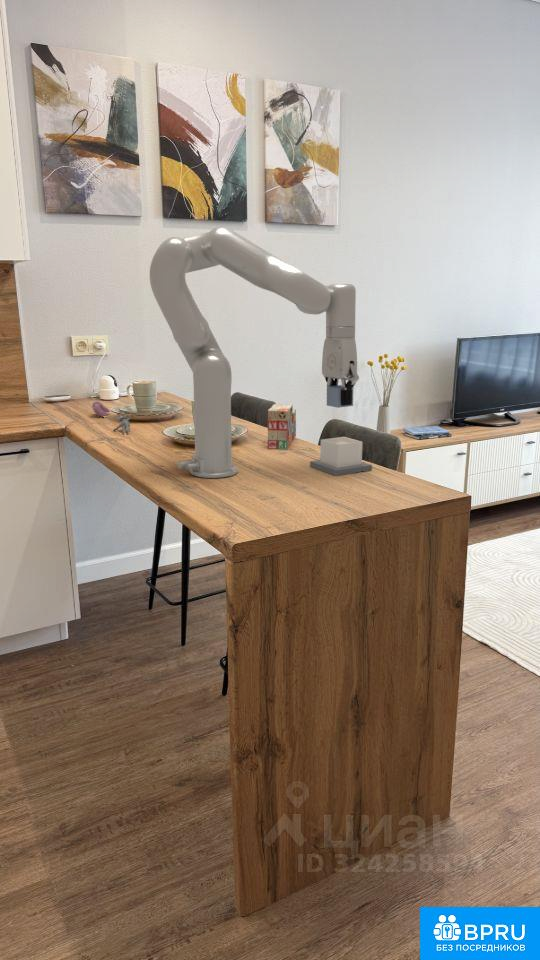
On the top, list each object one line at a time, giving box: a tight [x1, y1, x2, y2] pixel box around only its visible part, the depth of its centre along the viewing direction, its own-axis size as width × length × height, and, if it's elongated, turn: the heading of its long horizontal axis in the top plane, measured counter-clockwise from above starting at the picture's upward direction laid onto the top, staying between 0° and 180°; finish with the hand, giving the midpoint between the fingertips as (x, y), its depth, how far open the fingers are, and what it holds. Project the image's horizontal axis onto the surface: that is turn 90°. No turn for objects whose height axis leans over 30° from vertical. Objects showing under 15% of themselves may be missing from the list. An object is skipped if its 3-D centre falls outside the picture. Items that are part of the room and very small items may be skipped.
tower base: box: [309, 436, 373, 477], centre depth 189 cm, size 12×12×8 cm
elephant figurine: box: [112, 413, 136, 434], centre depth 239 cm, size 10×6×9 cm
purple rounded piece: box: [91, 400, 111, 417], centre depth 270 cm, size 10×5×7 cm, turn 7°
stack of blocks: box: [267, 403, 297, 451], centre depth 222 cm, size 21×6×12 cm, turn 171°
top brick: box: [326, 384, 354, 409], centre depth 184 cm, size 5×5×5 cm
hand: (339, 403), depth 185 cm, fingers closed on top brick, 4 cm apart
